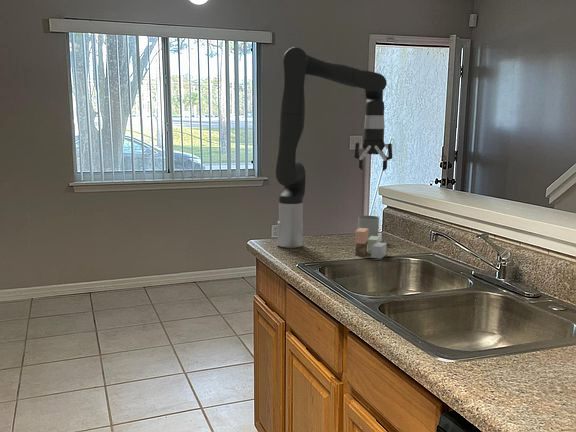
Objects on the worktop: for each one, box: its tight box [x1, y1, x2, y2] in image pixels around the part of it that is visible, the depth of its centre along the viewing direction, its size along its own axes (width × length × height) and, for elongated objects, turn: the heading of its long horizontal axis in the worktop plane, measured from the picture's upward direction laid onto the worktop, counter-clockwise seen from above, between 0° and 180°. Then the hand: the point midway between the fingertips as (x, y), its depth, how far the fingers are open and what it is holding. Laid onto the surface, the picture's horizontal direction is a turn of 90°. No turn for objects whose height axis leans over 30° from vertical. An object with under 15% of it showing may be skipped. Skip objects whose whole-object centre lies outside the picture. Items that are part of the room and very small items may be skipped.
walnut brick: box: [355, 242, 368, 257], centre depth 208 cm, size 4×7×4 cm, turn 166°
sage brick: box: [367, 235, 381, 252], centre depth 215 cm, size 4×7×4 cm, turn 163°
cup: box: [357, 215, 380, 244], centre depth 230 cm, size 8×8×10 cm
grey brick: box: [371, 241, 388, 260], centre depth 204 cm, size 4×7×4 cm, turn 155°
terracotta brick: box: [354, 228, 369, 244], centre depth 207 cm, size 4×7×4 cm, turn 160°
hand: (372, 170), depth 215 cm, fingers open, 8 cm apart
